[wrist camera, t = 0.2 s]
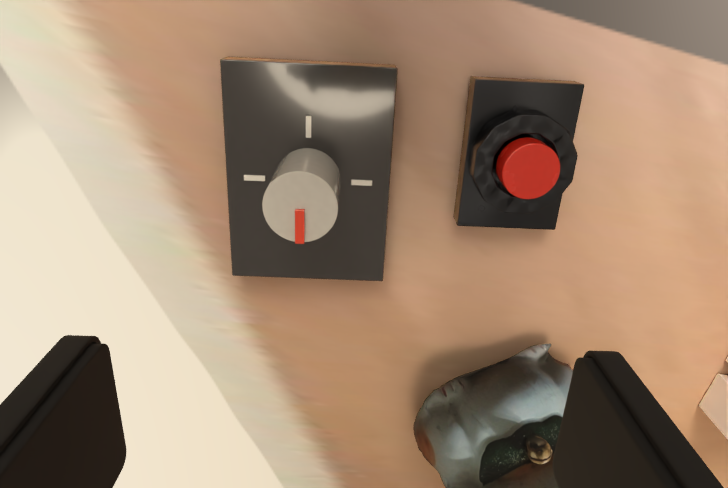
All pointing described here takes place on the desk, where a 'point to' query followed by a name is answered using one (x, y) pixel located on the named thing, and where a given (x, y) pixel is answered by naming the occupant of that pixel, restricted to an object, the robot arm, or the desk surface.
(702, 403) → the organizer
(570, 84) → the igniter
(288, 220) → the hob knob
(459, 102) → the desk surface
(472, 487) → the lucky cat figurine
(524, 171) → the button
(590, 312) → the desk surface
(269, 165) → the hob console
